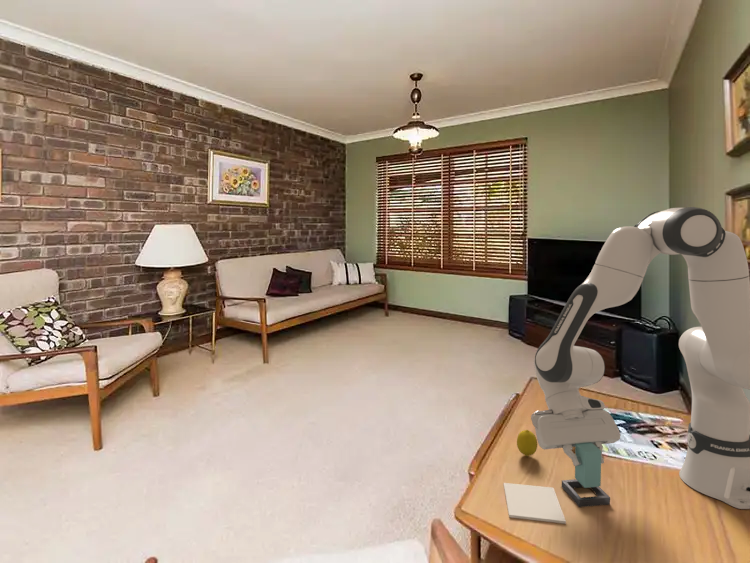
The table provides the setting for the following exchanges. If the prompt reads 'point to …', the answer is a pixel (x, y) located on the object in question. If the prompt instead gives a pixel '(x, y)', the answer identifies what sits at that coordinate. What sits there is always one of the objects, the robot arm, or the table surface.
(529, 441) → the lemon
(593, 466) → the teal block
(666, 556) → the table surface
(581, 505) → the metal cradle
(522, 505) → the white mat
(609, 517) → the table surface
